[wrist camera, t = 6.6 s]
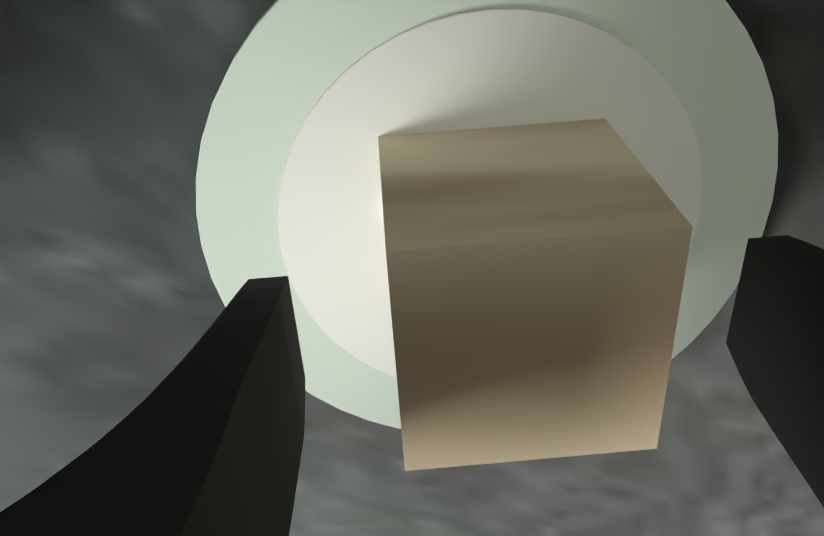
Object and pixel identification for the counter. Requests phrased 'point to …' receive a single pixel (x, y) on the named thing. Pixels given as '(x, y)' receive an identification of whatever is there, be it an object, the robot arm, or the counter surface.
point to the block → (528, 292)
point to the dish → (456, 110)
